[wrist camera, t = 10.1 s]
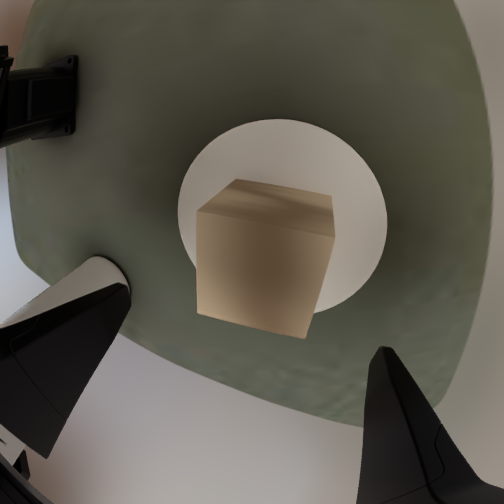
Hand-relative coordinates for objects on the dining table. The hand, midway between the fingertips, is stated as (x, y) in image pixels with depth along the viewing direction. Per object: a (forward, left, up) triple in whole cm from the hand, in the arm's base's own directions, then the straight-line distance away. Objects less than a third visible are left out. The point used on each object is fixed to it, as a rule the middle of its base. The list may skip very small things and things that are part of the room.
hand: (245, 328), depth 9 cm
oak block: (0, 0, -7) cm, 7 cm away
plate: (0, 0, -8) cm, 8 cm away
